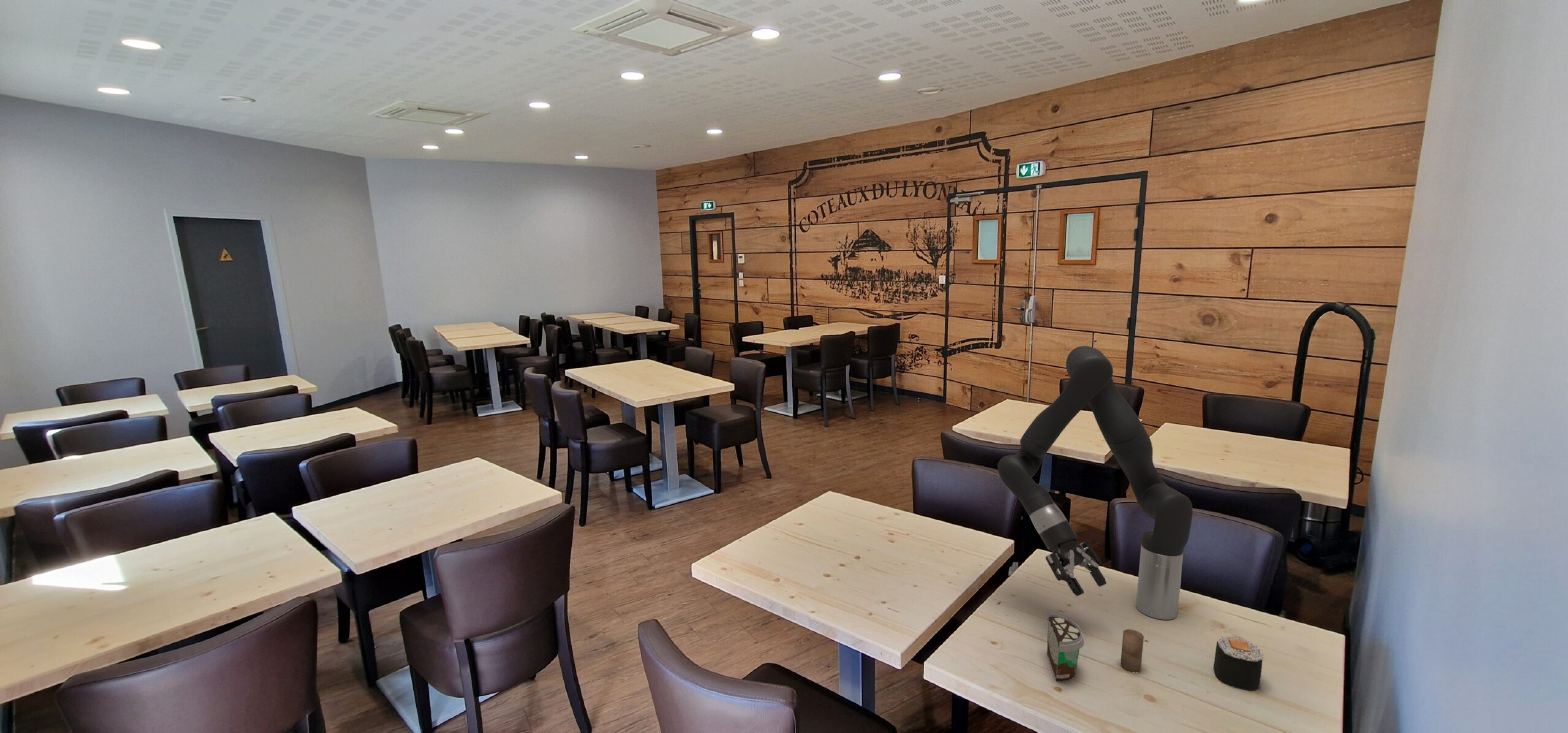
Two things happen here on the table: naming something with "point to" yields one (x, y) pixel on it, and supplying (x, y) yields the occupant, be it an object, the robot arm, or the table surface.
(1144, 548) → the robot arm
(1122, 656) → the walnut cylinder
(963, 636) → the table surface
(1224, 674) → the sushi
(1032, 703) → the table surface
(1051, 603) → the table surface
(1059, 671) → the food container
